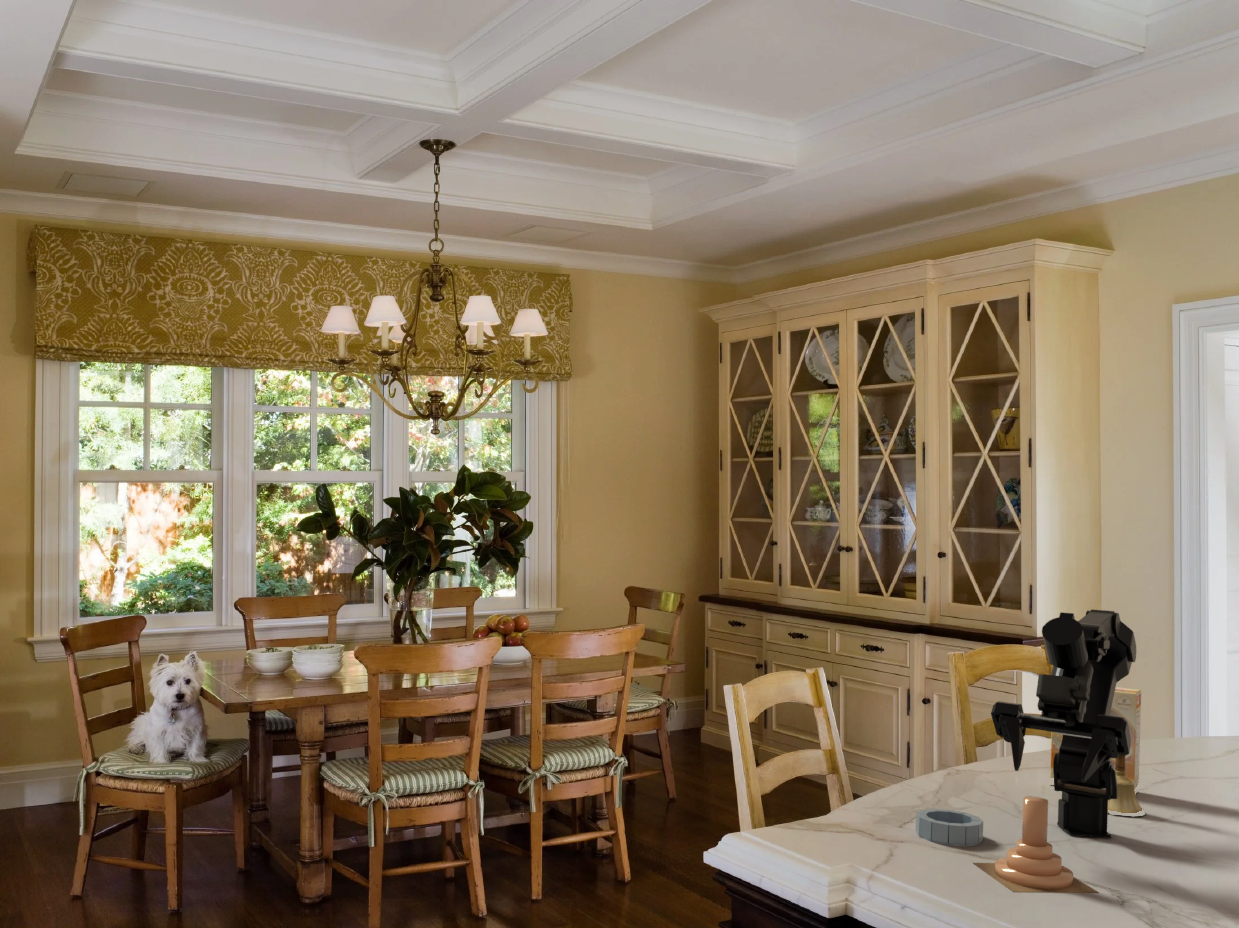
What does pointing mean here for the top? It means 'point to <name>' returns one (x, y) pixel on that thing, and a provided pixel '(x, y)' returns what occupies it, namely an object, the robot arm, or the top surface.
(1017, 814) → the top surface
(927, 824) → the blue-grey faceted ring
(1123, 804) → the hand bell
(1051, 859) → the lid
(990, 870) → the plate
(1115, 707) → the coffeecake box
